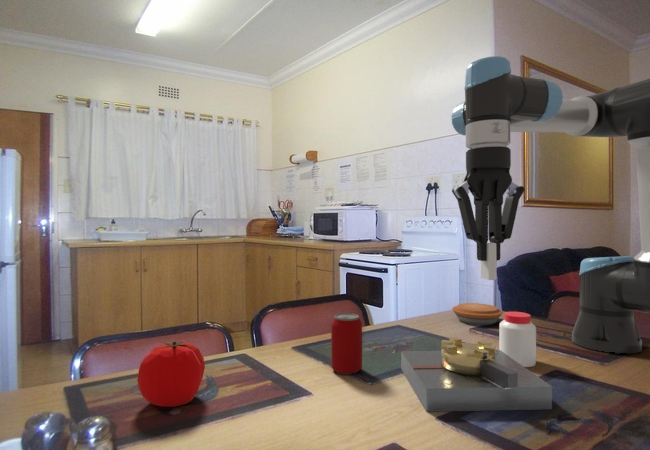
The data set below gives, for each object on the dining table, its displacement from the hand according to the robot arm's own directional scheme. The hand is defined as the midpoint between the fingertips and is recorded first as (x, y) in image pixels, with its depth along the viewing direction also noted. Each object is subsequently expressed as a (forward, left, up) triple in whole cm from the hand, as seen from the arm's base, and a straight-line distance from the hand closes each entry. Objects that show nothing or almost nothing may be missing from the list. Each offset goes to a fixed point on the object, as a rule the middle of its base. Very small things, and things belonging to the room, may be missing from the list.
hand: (488, 278), depth 75 cm
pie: (-22, -58, -23) cm, 66 cm away
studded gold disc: (0, -3, -18) cm, 18 cm away
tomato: (+57, -2, -23) cm, 62 cm away
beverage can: (+24, -16, -23) cm, 37 cm away
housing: (+1, -6, -22) cm, 23 cm away
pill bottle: (-16, -20, -23) cm, 34 cm away
